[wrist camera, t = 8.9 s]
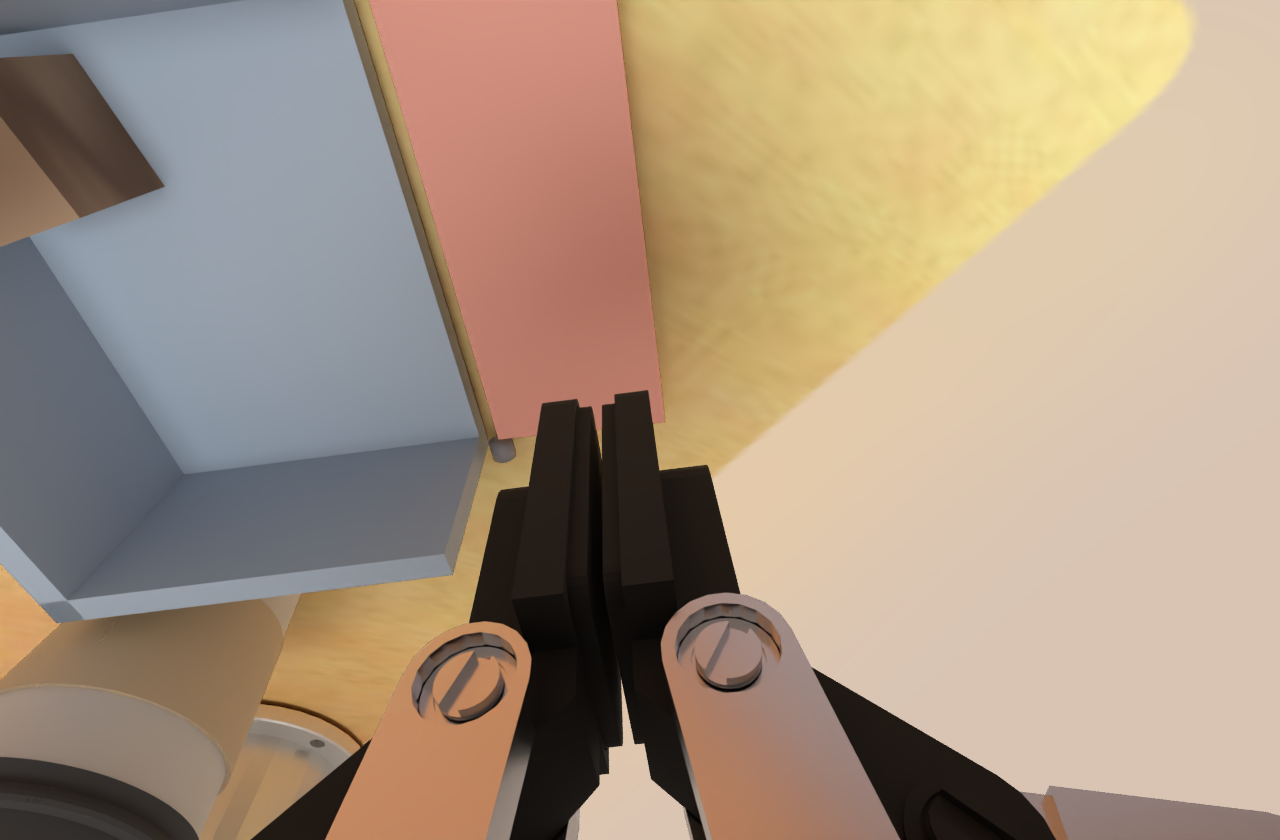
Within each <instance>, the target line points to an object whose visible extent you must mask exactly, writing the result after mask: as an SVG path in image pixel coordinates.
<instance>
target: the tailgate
mask: <svg viewBox="0 0 1280 840" xmlns="http://www.w3.org/2000/svg"><path fill="white" fill-rule="evenodd" d="M369 2H370V5H371V8H372V12H373V15H374V19H375V22H376V25H377V29H378V32H379V36H380V39H381V42H382V46H383V49H384V53H385V56H386V59H387V63H388V66H389V70H390V73H391V76H392V80H393V83H394V86H395V90H396V93H397V97H398V100H399V103H400V107H401V110H402V114H403V117H404V120H405V124H406V127H407V131H408V134H409V137H410V141H411V144H412V148H413V151H414V154H415V158H416V161H417V165H418V168H419V171H420V175H421V178H422V182H423V185H424V188H425V192H426V195H427V199H428V202H429V205H430V209H431V212H432V216H433V219H434V222H435V226H436V229H437V232H438V236H439V239H440V243H441V246H442V249H443V253H444V256H445V260H446V263H447V266H448V270H449V273H450V277H451V280H452V283H453V287H454V290H455V294H456V297H457V300H458V304H459V307H460V311H461V314H462V317H463V321H464V324H465V328H466V331H467V334H468V338H469V341H470V345H471V348H472V351H473V355H474V358H475V362H476V365H477V368H478V372H479V375H480V378H481V382H482V385H483V389H484V392H485V395H486V399H487V402H488V406H489V409H490V412H491V416H492V419H493V423H494V426H495V429H496V433H497V436H498V440H499V439H509V438H518V437H528V436H537V431H538V424H539V418H540V412H541V406H542V403H547V402H555V401H563V400H571V399H577V400H578V402H579V406H580V407H588V406H592V409H593V414H594V419H595V425H596V429H602V405H605V404H613V403H615V401H614V394H620V393H628V392H636V391H644V390H648V392H649V399H650V406H651V414H652V421H653V423H661V422H665V414H664V404H663V395H662V386H661V378H660V369H659V361H658V352H657V343H656V335H655V326H654V317H653V309H652V300H651V291H650V283H649V274H648V265H647V257H646V248H645V239H644V231H643V222H642V213H641V205H640V196H639V188H638V179H637V170H636V162H635V153H634V144H633V136H632V127H631V118H630V110H629V101H628V92H627V84H626V75H625V66H624V58H623V49H622V40H621V32H620V23H619V15H618V6H617V0H369Z"/></svg>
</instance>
